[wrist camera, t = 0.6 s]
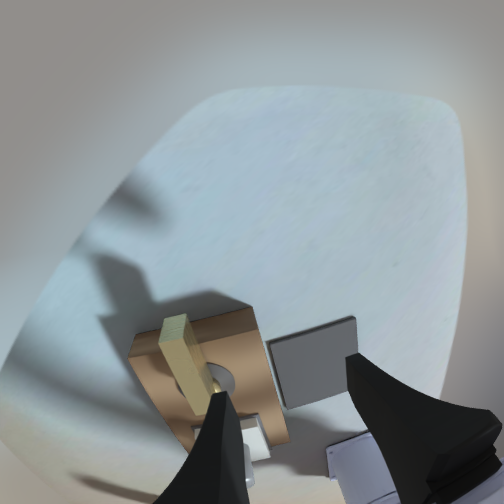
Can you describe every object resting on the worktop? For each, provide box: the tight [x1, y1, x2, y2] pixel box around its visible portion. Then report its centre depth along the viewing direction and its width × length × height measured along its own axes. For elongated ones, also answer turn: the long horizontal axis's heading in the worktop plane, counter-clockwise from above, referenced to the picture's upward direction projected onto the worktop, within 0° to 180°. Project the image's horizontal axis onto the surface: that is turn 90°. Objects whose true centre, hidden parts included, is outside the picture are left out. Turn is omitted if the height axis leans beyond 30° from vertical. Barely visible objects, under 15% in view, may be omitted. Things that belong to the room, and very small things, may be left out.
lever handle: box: [158, 313, 221, 416], centre depth 18 cm, size 7×2×3 cm, turn 13°
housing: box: [127, 307, 291, 454], centre depth 22 cm, size 13×9×3 cm
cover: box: [195, 417, 270, 488], centre depth 20 cm, size 5×5×4 cm
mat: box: [270, 317, 358, 410], centre depth 24 cm, size 8×7×1 cm
